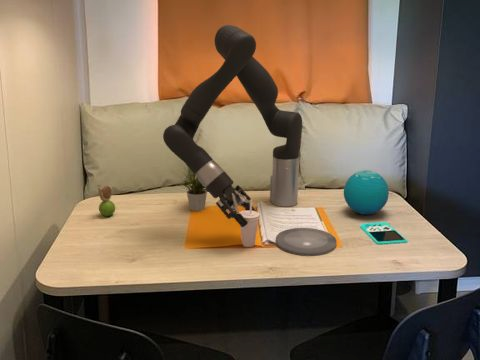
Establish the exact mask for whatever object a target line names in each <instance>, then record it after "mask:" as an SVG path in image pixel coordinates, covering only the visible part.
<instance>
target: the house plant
mask: <svg viewBox="0 0 480 360" xmlns="http://www.w3.org/2000/svg"><path fill="white" fill-rule="evenodd" d="M187 167H188V166H187ZM188 170H189V174H190V176H189V175H188V174H186V173H184V172H183V171H181V170H180V169H177V171H179V172H180V173H182V174H183V175H184V177H186V178H187V180H188V181H189V182H188V181H187V180H185V179H183V178H181V180H182V182H183V183H181V184H179V186H184V187H186V188H187V189H188V190H187V191H186V196H187V202H188V206H189V210H190V211H192V212H200V211H204V210H205V207H206V201H207V197H208V196H207V194H208V191H207V189H206V188H205V187H204V186H203V185H202V184H201V183H200V181H199V180H198V178H197V177H196V176H195V174H194V173H193V172H192V171H191V170H190V169H189V167H188Z"/></svg>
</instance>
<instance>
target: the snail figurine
mask: <svg viewBox="0 0 480 360" xmlns="http://www.w3.org/2000/svg"><path fill="white" fill-rule="evenodd" d="M96 186H97V191H98V196H99V198H100V200H101V202H100V204H99V206H98V211H99V213H100V214H101V216H104V217H110V216H112V215H114V213H115V212H116V204H115V203H114V202H113V201H112V200H111V198H112V196H111V195H112V188H111V187H110V186H109V185H105V186H103V188H102V187H101V184H97V185H96Z"/></svg>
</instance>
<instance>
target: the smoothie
mask: <svg viewBox="0 0 480 360" xmlns="http://www.w3.org/2000/svg"><path fill="white" fill-rule="evenodd" d="M252 207H253V200H252V199H251V200H250V210H241V211H239V213H240V214H241V215H242V216H243V217H244V218H245V219H246V221H247V222H248V224H247V225H245V226H244V227H241V226H240V225H239V227H240V228H239V229H240V235H241V243H242V244H243V245H242V247H246V248H251V247H254V246H255V245H256V238H257V232H258V225H259V224H258V223H259V219H260V217H261V216H260V215H261V214H260V213H259V212H258V211H257V210H256V211H257V212H256V211H252Z"/></svg>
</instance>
